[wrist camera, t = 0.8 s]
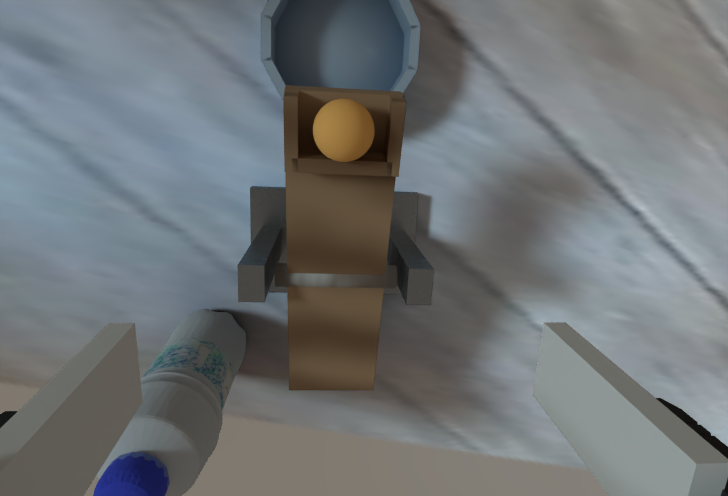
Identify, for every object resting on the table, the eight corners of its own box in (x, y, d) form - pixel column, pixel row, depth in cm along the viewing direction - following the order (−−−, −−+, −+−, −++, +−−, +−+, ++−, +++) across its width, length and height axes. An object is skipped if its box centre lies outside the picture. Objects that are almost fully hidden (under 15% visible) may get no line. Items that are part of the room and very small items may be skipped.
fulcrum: (409, 290, 43) (440, 351, 31) (253, 287, 41) (225, 350, 30) (416, 192, 40) (452, 218, 29) (252, 186, 39) (221, 211, 28)
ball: (305, 100, 25) (302, 121, 22) (363, 82, 25) (366, 102, 22) (324, 154, 27) (324, 179, 24) (378, 138, 26) (383, 162, 24)
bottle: (228, 381, 44) (150, 583, 24) (162, 346, 42) (24, 531, 23) (266, 324, 42) (216, 489, 23) (200, 287, 41) (88, 428, 22)
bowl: (405, 128, 39) (413, 128, 36) (267, 121, 38) (261, 120, 35) (416, -24, 36) (425, -40, 33) (266, -36, 35) (260, -53, 32)
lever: (376, 334, 42) (385, 406, 35) (285, 333, 41) (276, 406, 34) (402, 75, 31) (423, 103, 24) (280, 68, 30) (265, 94, 23)
